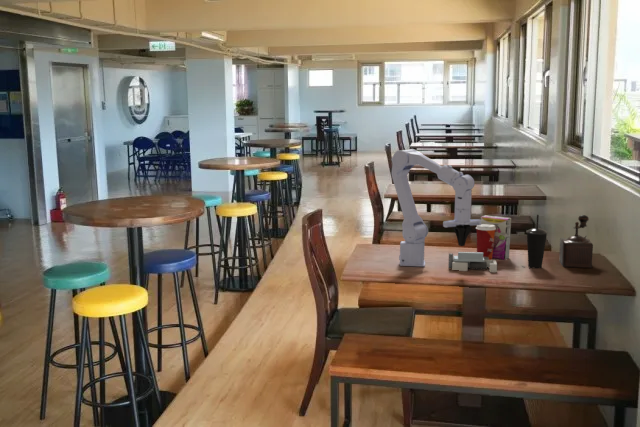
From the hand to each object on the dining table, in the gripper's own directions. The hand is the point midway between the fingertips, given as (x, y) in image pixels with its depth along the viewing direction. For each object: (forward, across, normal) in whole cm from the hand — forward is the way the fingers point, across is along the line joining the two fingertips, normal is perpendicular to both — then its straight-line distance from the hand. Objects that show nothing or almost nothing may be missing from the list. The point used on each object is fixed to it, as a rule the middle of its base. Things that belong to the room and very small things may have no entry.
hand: (461, 245), depth 244 cm
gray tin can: (+9, +9, +3) cm, 13 cm away
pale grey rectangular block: (+10, +6, +2) cm, 12 cm away
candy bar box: (+10, +24, +16) cm, 30 cm away
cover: (+7, +5, +3) cm, 9 cm away
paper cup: (+10, +18, +13) cm, 25 cm away
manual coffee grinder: (+10, +49, -1) cm, 50 cm away
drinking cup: (+10, +30, -2) cm, 32 cm away
